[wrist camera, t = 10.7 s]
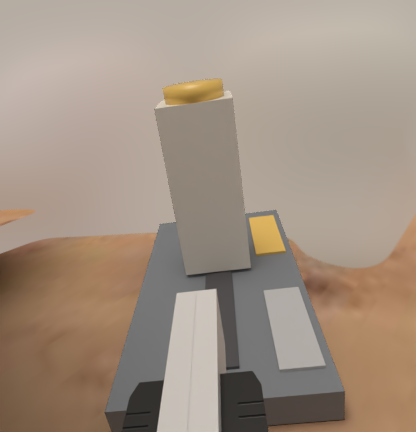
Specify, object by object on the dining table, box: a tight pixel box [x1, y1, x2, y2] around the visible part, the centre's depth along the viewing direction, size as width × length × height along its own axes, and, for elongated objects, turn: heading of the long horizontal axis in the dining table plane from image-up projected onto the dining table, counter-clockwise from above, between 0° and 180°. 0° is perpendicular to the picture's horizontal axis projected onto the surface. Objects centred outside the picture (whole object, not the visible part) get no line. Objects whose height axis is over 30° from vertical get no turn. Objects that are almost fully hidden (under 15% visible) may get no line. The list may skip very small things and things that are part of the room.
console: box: [105, 210, 345, 432], centre depth 29 cm, size 22×12×2 cm, turn 179°
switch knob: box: [154, 79, 251, 275], centre depth 28 cm, size 4×5×14 cm
